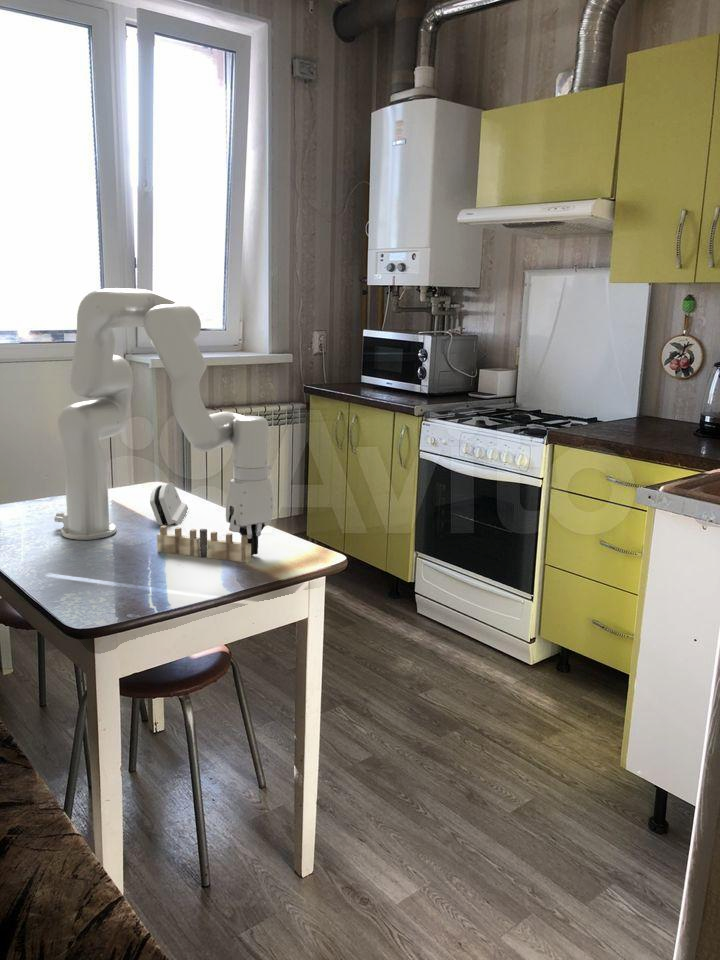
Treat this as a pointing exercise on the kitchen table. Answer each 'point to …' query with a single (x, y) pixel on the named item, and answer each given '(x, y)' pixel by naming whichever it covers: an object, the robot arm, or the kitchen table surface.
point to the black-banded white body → (167, 505)
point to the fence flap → (229, 548)
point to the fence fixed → (182, 542)
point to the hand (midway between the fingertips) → (250, 553)
